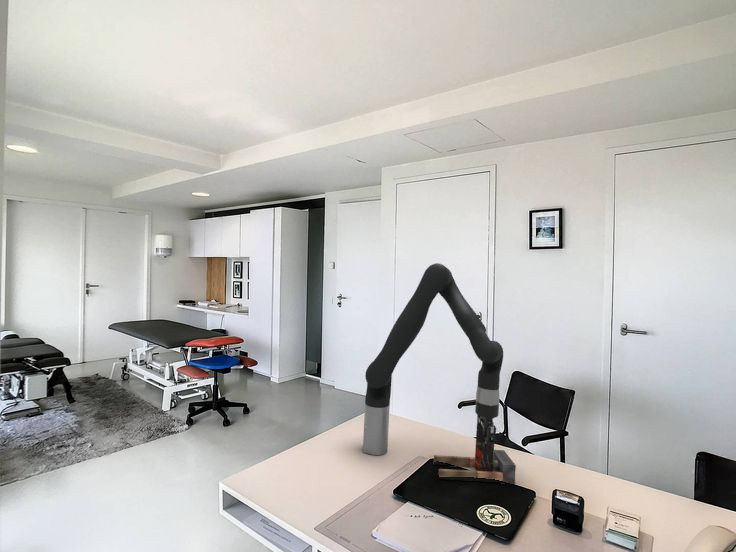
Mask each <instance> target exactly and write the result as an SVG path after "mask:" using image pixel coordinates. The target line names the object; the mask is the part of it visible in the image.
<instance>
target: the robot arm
mask: <svg viewBox="0 0 736 552" xmlns="http://www.w3.org/2000/svg"><path fill="white" fill-rule="evenodd" d="M438 294H439V295H440V296H441V297H442V298H443V300H444V301H445V302H446V304H447V305H448V307H449V309H450V310H451V313H452V314H453V316H454V318H455V320H456V321H457V324H458V326H459V327H460V328H461V329H462V331H463V332H464V335H465V336H466V337H467V339H468V340H469V343H470V345H471V347H472V350H473V353H474V354H475V356H477V358H478V359H479V361H480V362H482V363H481V368H480V369H479V371H478V375H477V388H476V392H475V393H476V394H475V409H474V410H475V414H476V418H477V419H476V424H477V423H478V422H479V424H481V426H482V427H483V436H484V454H485V455H491V448H492V444H493V445H494V446H495V444H496V443H495V442H496V435H497V426H495V427H494V425H495V423H494V422H493V421H494V420H493V419H495V418H498V417H499V412H500V383H501V381H500V379H501V377H500V376H501V370H502V365H503V362H504V361H503V360H504V348H503V346H502V345H501V344H500V343H499V342H498V341H496V340H490V338H489V336H488V334H487V328H486V326H485V324H484V323H483V321H482V319H480V317H479V316H478V315H477V313H476V312H475V310H474V308H473V307H472V306H471V305H470V304H469V302H468V301H467V299H466V298H465V297H464V295H463V294H462V292H461V291H460V289H459V287H458V285H457V283H456V280H455V279H454V276H453V274H452V271H451V270H450V269H449V268H448V267H447V266H446V265H444V264H442V263H433V264H431V265H429V266H428V267H427V268H426V269H425V271H424V273H423V275H422V277H421V279H420V281H419V283H418V285H417V287H416V289H415V291H414V293H413V295H412V296H411V297H410V299H409V300H408V302H407V304H406V305H405V307H404V308H403V310H402V312H401V313H400V314H399V316H398V318H397V319H396V321H395V322H394V324H393V326H392V328H391V330H390V332H389V334H388V336H387V338H386V340H385V342H384V345H383V346H382V349H381V350H380V352H379V353H378V355H377V356H376V357H375V359H374V360H373V361H372V362H370V364H369V365H368V367H367V368H366V371H365V377H364V378H365V380H366V392H365V398H364V419H363V436H362V437H363V439H362V453H363V454H367V455H372V456H382V455H385V454H387V452H388V447H389V430H390V429H389V427H390V408H391V407H390V405H391V394H392V378H393V377H392V375H393V373H394V370H395V369H396V367H397V365H398V363H399V361H400V359H401V358H402V357H403V356H404V354H405V353H406V352H407V351H408V349H409V348H410V346H411V345H412V344H413V343H414V341H415V339H416V338H417V336H418V335H419V333H420V332H421V331H422V329H423V327H424V325H425V323H426V319H427V317H428V313H429V309H430V307H431V305H432V304H433V301H434V299H435V298H436V297H437V295H438ZM484 428H485V429H486V430H487V433H485V429H484ZM489 438H490V440H489Z"/></svg>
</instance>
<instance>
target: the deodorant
mask: <svg viewBox="0 0 736 552" xmlns="http://www.w3.org/2000/svg"><path fill="white" fill-rule="evenodd" d="M494 427H496V425H495V424H494ZM484 429H485V428H484ZM485 433H487V430H486V429H485ZM475 435H476V436H475V449H474V450H475V451H474V457H475V466H474V467H473V468H474V471H488V472H494V469H493V458H494V450H495V444H494V445H493V444H492V448H491V455H485V454H484V436H483V427H482V426H481V424H479V422H478V423H477V422H476V434H475ZM489 440H490V438H489Z"/></svg>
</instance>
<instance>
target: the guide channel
mask: <svg viewBox="0 0 736 552" xmlns="http://www.w3.org/2000/svg"><path fill="white" fill-rule="evenodd" d="M436 461H439V462H443V463H448V464H451V465H455V466H454V467H457V466H459V468H460V467H463V468H474V466H475V456H474V457H473V456H460V455H459V456H458V455H457V456H455V455H439V454H434V455H433V463H434V462H436ZM516 467H517V465H516V464H515V462H514V461H513V460H512V459H511V457H510V456H509V454H508V453H507V452H506V450H503V449H501V450H500V449H494V458H493V472H488V471H476V470H468V469H467V470H465V469H449V468H448V469H447V468H445V469H444V468H438V475H439V477H474V478H476V477H477V478H486V479H495V480H499V481H503V482H506V483H510V485H515V484H516ZM438 475H437V476H438Z"/></svg>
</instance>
